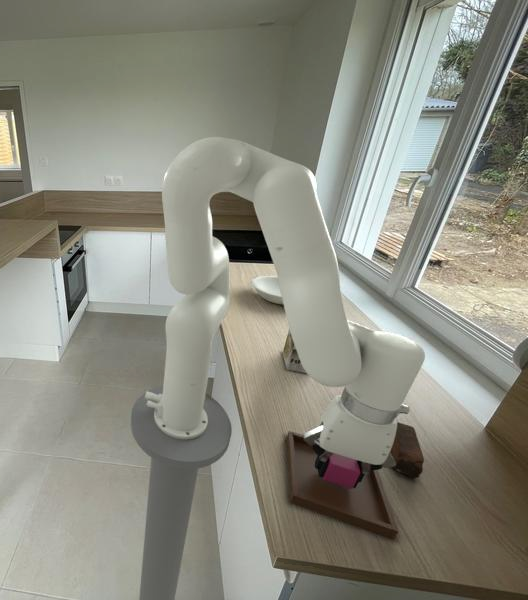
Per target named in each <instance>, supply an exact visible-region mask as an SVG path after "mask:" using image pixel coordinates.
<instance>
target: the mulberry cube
mask: <svg viewBox="0 0 528 600" xmlns="http://www.w3.org/2000/svg"><path fill="white" fill-rule="evenodd" d="M328 463H329V465H328V467H327V470H326V472H325V474H324V480H325V481H328V482H331V483H334V484H337V485H340V486H344V487H347V488H350V489H353V487H354V485H355V483H356V481H357V479H358V477H359V475H360V473H361V472H360V469H359V465H358V462H357V460H355V459H352V458H348V457H345V456H342V455H338V454H335V453H334V454H333V455H332V456H331V457H330V458H329V459H328Z"/></svg>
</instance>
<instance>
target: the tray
mask: <svg viewBox="0 0 528 600" xmlns="http://www.w3.org/2000/svg"><path fill="white" fill-rule="evenodd" d="M319 439H320V438H318V439H316V440H318V441H319V442H320V440H319ZM286 451H287V468H288V469H287V470H288V483H289V484H288V485H289V499H290V501H289V502H290V503H291V504H294V505H295V506H296V505H297V506H299V507H302V508H305V509H308V510H310V511H313V512H317V513H319V514H322V515H323V516H324V515H325V516H327V517H330V518H333V519H336V520H339V521H342V522H344V523H347V524H350V525H353V526H355V527H359V528H361V529H364V530H367V531H370V532H372V533H376V534H378V535H381V536H383V537H387V538H389V539H392V540H394V539H395V538H396V536H397V535H398V533H399V529H398V526H397V523H396V520H395V518H394V515H393V511H392V508H391V506H390V503H389V500H388V497H387V494H386V491H385V487H384V485H383V481H382V479H381V476H380V473H379V469H378V470H373V471H370V474H367V475H366V474H365V475H364V477H363V479H362V481H361V482H358V484H357V486H356V488H353V489H350V488H347V487H344V486H340V485H337V484H334V483H331V482H328V481H325V480H324V477H319V474H318V469H316V468H315V461H316V458H317V456H318V455H317V454H316V452H315V451H314V450H313V448H312V447H311V446H310V445H309V444H308V443H306V442H305V441H304V436H303V434H301V433H298V432H294V431H291V430H288V432H287V435H286Z"/></svg>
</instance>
